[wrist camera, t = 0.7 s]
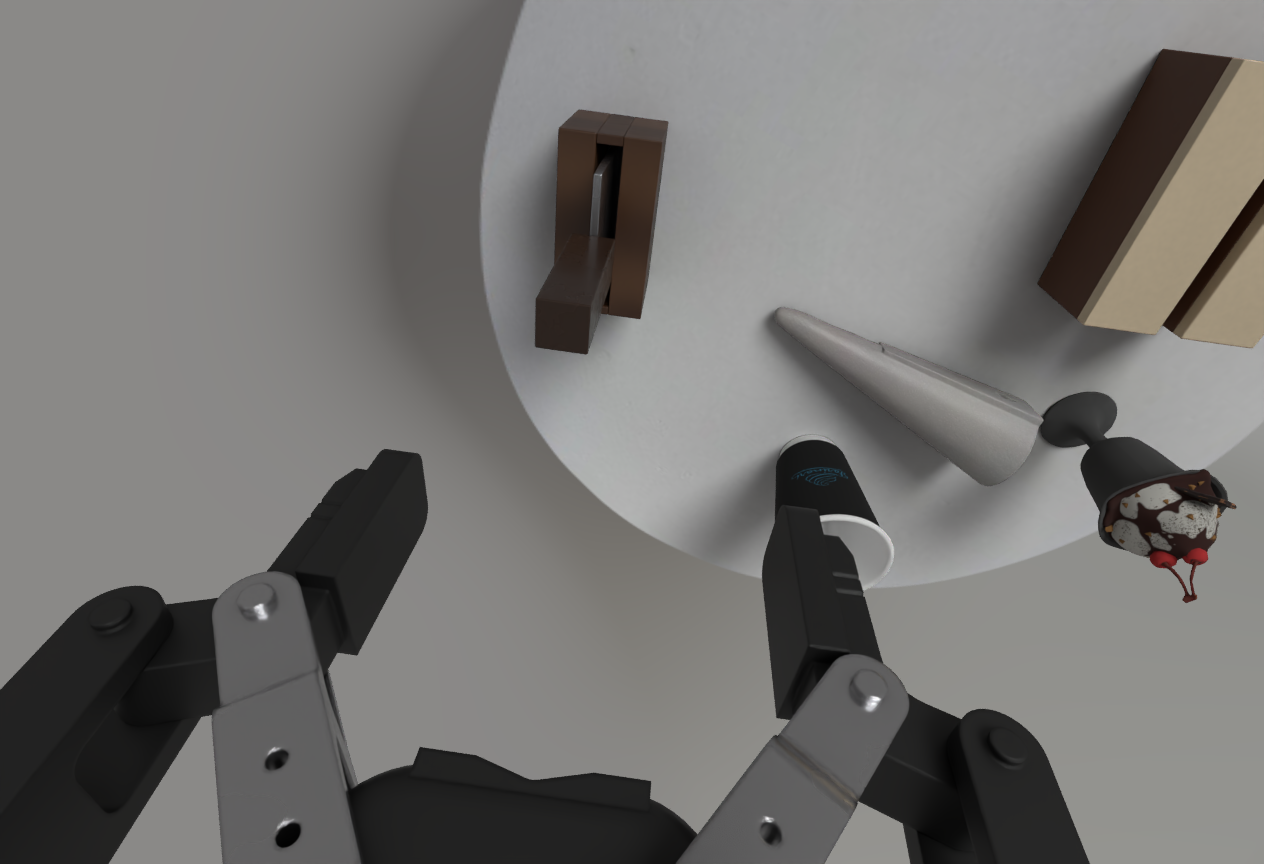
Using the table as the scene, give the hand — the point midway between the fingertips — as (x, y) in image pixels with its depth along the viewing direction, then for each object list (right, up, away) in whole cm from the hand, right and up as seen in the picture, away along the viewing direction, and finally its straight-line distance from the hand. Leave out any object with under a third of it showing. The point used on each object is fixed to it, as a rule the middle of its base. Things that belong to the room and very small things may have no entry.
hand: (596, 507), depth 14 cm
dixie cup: (+15, 0, +36) cm, 39 cm away
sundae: (+34, +3, +31) cm, 46 cm away
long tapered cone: (+19, +6, +31) cm, 37 cm away
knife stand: (0, +16, +25) cm, 30 cm away
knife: (0, +16, +25) cm, 30 cm away
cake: (+32, +16, +22) cm, 42 cm away
